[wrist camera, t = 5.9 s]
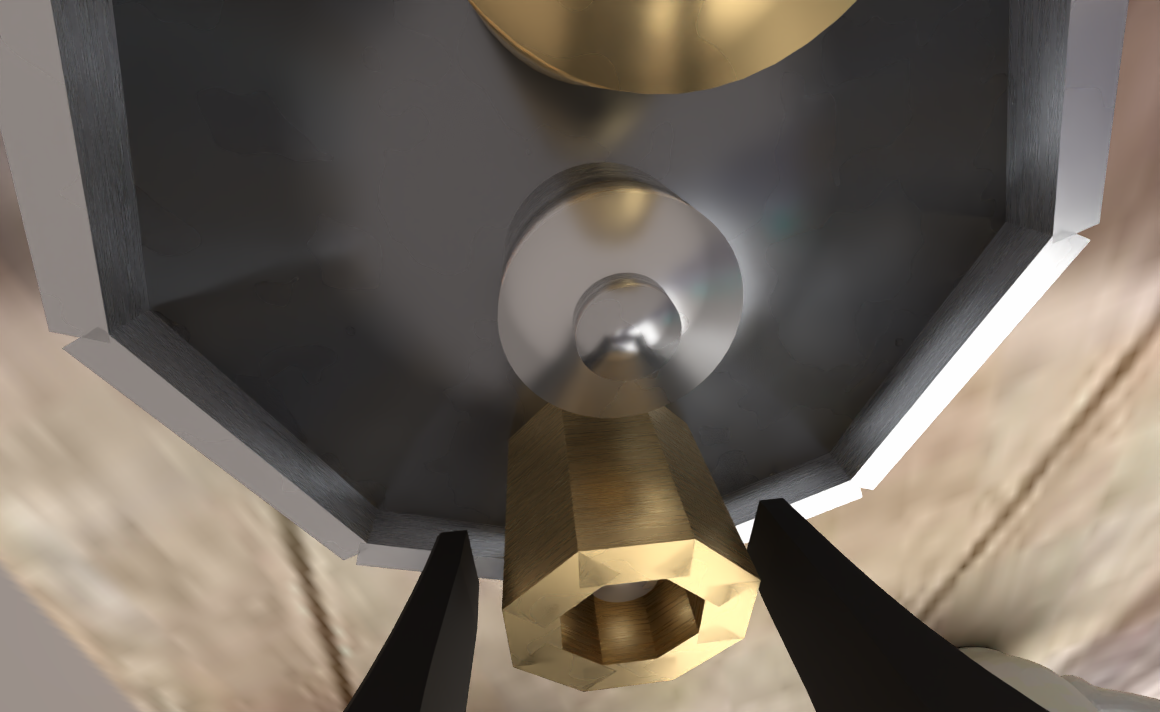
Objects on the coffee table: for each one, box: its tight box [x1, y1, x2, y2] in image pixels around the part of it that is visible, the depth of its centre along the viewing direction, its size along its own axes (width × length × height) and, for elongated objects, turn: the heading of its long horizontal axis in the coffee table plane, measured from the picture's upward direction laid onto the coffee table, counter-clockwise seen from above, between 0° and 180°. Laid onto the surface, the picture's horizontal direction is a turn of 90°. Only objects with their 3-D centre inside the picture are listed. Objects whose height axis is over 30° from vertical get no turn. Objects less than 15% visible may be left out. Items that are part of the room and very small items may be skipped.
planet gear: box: [502, 403, 761, 692], centre depth 12 cm, size 5×5×5 cm
